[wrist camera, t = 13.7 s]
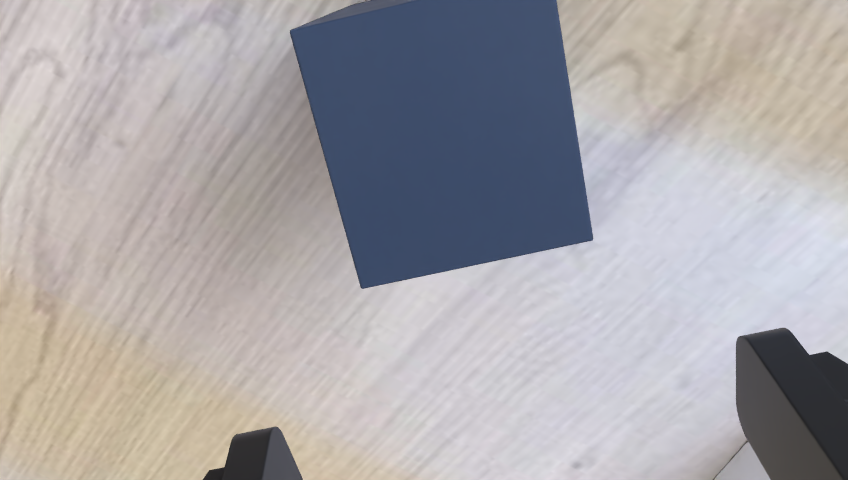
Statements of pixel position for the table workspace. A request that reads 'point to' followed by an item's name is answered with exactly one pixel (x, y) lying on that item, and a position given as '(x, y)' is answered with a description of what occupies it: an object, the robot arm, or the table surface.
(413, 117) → the rectangular box
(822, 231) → the table surface
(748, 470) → the block
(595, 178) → the table surface
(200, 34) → the table surface
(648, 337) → the table surface
